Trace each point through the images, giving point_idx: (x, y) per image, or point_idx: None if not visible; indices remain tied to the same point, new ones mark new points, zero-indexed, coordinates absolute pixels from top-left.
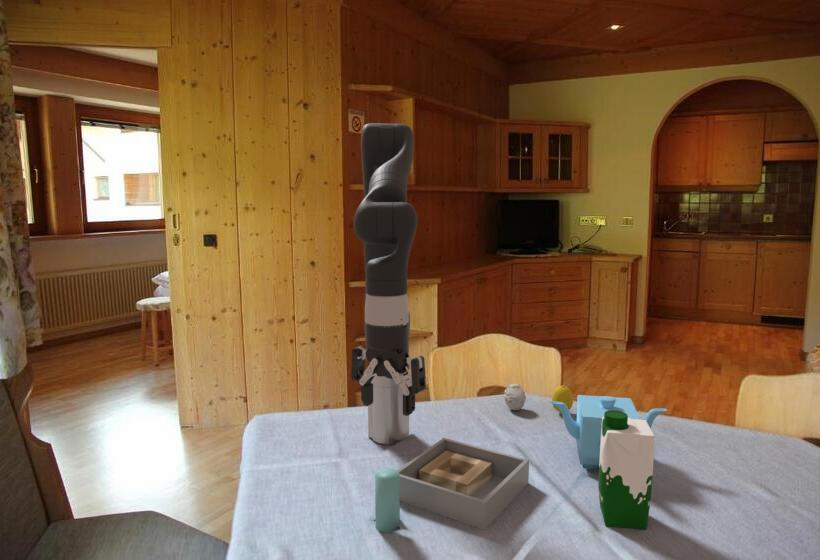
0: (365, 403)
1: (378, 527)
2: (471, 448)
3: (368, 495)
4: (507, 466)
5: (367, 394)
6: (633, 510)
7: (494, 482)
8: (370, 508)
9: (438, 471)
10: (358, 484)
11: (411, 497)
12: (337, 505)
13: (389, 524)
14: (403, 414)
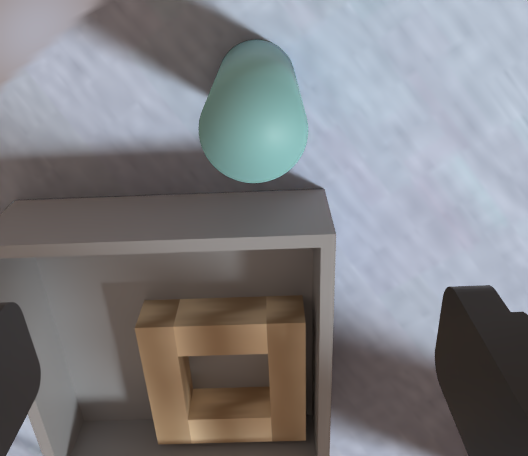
0: (465, 295)
1: (264, 42)
2: None
3: (411, 182)
4: (118, 449)
5: (487, 382)
6: None
7: (141, 394)
8: (362, 127)
9: (251, 344)
10: (476, 213)
11: (251, 208)
12: (469, 79)
13: (226, 57)
14: (3, 302)
